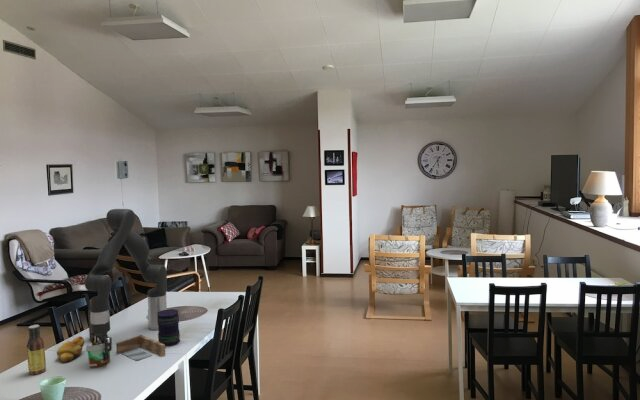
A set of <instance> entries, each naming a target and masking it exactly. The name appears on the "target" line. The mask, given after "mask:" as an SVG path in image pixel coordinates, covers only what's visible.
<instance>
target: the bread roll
mask: <svg viewBox="0 0 640 400" xmlns="http://www.w3.org/2000/svg"><path fill="white" fill-rule="evenodd" d="M84 345H85V338H84V337H83V336H78V337H77V336H76V337H75V338H74V339H72V340H71V341H70V340H69V341H65V342H63V343H61V345H60V346H59V347H58V348H57V351H56V354H57V355H56V356H57V357H58V359H60V361H62V362H63V363H64V362H70V361H72V360H73V359H74V358H77V357H79V356H80V355H81V353H82V351H83V347H84Z"/></svg>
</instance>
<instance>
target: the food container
mask: <svg viewBox="0 0 640 400" xmlns="http://www.w3.org/2000/svg"><path fill="white" fill-rule="evenodd" d="M108 338H110V336H108ZM103 349H105V343H103V344H99V343H98V342H96V343H94V344H93V345H92V344H91V345H86V349H85V351H86V352H87V356H88V357H87V358H88V364H89V368H90V369H95V368H100V367H104V366H107V365H108V364H109V363H110V361H111V351H109V360H107V361H103Z"/></svg>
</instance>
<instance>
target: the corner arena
mask: <svg viewBox="0 0 640 400" xmlns="http://www.w3.org/2000/svg"><path fill="white" fill-rule="evenodd" d="M115 348H116V354H117V355H120V354H121V355H122V356H124V357H126V358H129V359H131V360H133V361H135V362H139V361H141V360H143V359H147V358H149V357H153V354H151V353H154V354H156V355H158V356H161V357H164V356H166V347H165V344H162V343H160V342H159V341H157V340H155V339H152V338H150V337H148V336H145V335H142V334H140V335H137V336H133V337H131V338H126V339H123V340H121V341H118V342H116V343H115ZM139 348H140V349H139ZM141 348H142V349H145V350H146V351H149V352H151V353H149V352H146V351H144V350H142V349H141Z"/></svg>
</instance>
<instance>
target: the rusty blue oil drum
mask: <svg viewBox="0 0 640 400" xmlns="http://www.w3.org/2000/svg"><path fill="white" fill-rule="evenodd" d="M179 319H180V316H179V310H178V309H174V308H172V309H171V308H170V309H168V308H167V310H162V311H160V312H158V313H157V321H158V328H159V330H158V333H157V338H158V342H160V343H162V344H165V348H167V347H173V346H176V345H179V343H180V342H181V341H180V339H181V338H180V336H181V335H180V329H179V328H180V327H179V325H180V324H179V323H180V320H179Z"/></svg>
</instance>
